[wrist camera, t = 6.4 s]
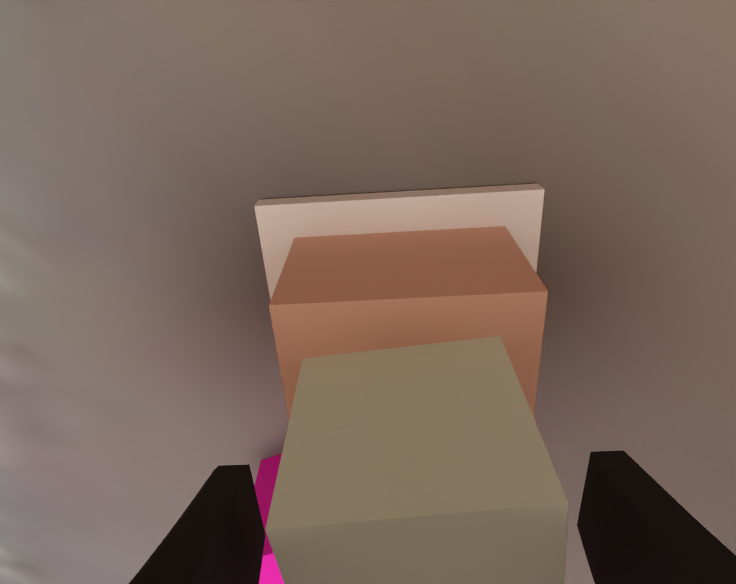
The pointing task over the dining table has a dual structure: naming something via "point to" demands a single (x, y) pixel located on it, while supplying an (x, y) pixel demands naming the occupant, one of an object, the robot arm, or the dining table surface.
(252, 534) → the robot arm
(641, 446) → the dining table surface
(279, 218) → the baseplate
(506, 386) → the sage brick
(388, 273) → the terracotta brick
